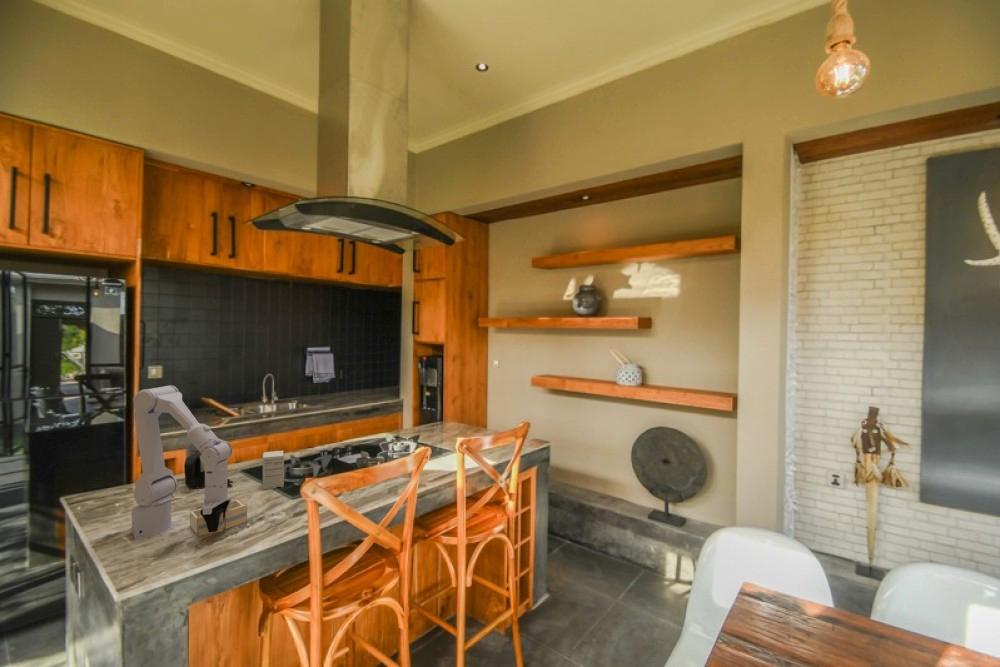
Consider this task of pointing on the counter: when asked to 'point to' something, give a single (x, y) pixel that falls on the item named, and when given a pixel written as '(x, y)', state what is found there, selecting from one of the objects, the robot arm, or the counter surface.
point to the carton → (196, 514)
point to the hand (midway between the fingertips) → (215, 527)
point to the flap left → (203, 528)
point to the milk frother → (195, 470)
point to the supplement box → (273, 469)
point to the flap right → (235, 516)
